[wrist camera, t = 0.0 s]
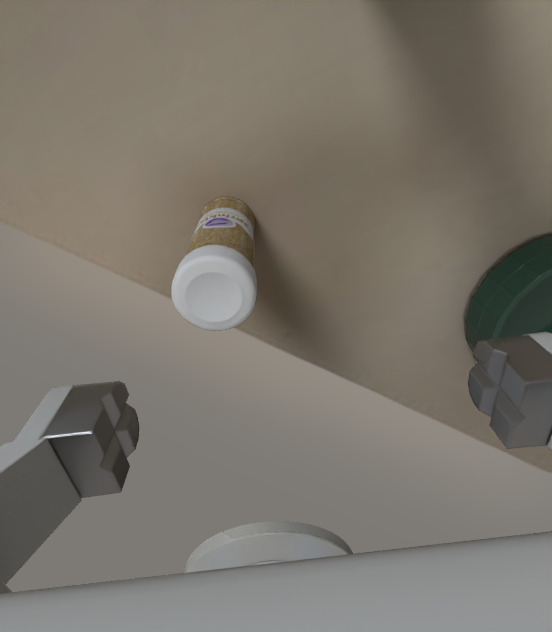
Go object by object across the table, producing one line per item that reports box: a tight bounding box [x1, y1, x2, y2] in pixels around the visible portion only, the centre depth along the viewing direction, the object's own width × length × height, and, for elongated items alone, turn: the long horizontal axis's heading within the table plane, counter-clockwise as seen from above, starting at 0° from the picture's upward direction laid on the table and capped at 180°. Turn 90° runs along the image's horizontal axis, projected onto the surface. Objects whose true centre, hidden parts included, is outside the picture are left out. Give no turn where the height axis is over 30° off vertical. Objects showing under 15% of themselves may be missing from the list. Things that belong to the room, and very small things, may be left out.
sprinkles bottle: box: [171, 196, 257, 331], centre depth 26 cm, size 5×5×13 cm
